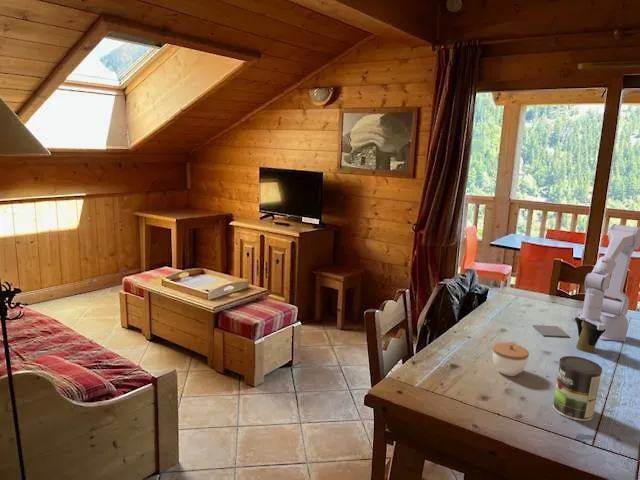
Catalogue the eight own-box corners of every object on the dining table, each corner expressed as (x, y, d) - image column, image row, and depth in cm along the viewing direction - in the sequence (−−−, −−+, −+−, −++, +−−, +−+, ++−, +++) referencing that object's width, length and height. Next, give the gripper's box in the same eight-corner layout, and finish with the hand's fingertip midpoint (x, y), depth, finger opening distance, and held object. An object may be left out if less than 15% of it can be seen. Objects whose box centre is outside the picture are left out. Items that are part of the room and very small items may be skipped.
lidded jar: (503, 381, 148) (507, 353, 146) (483, 365, 158) (486, 338, 156) (533, 378, 151) (537, 350, 149) (511, 362, 161) (514, 336, 159)
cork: (597, 353, 171) (602, 324, 169) (579, 351, 172) (584, 322, 170) (591, 346, 177) (596, 318, 175) (574, 344, 178) (578, 316, 176)
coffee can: (566, 421, 127) (574, 373, 124) (545, 401, 137) (552, 355, 134) (602, 421, 128) (611, 373, 125) (579, 400, 138) (586, 355, 135)
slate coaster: (556, 328, 194) (557, 326, 194) (569, 339, 185) (569, 336, 184) (532, 327, 194) (532, 324, 194) (543, 337, 185) (543, 334, 184)
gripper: (571, 298, 178) (566, 332, 181) (592, 312, 164) (586, 349, 167) (590, 299, 178) (584, 333, 181) (613, 313, 164) (606, 350, 167)
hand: (586, 341), depth 174 cm, fingers open, 6 cm apart
